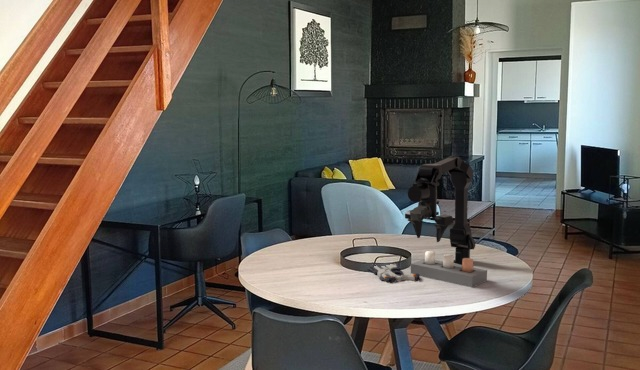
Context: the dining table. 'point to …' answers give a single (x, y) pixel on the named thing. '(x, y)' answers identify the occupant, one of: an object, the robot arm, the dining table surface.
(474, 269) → the socket board
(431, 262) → the plug white near
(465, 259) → the plug terracotta
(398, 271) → the toy gun
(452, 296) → the dining table surface
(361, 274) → the dining table surface
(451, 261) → the plug white mid
